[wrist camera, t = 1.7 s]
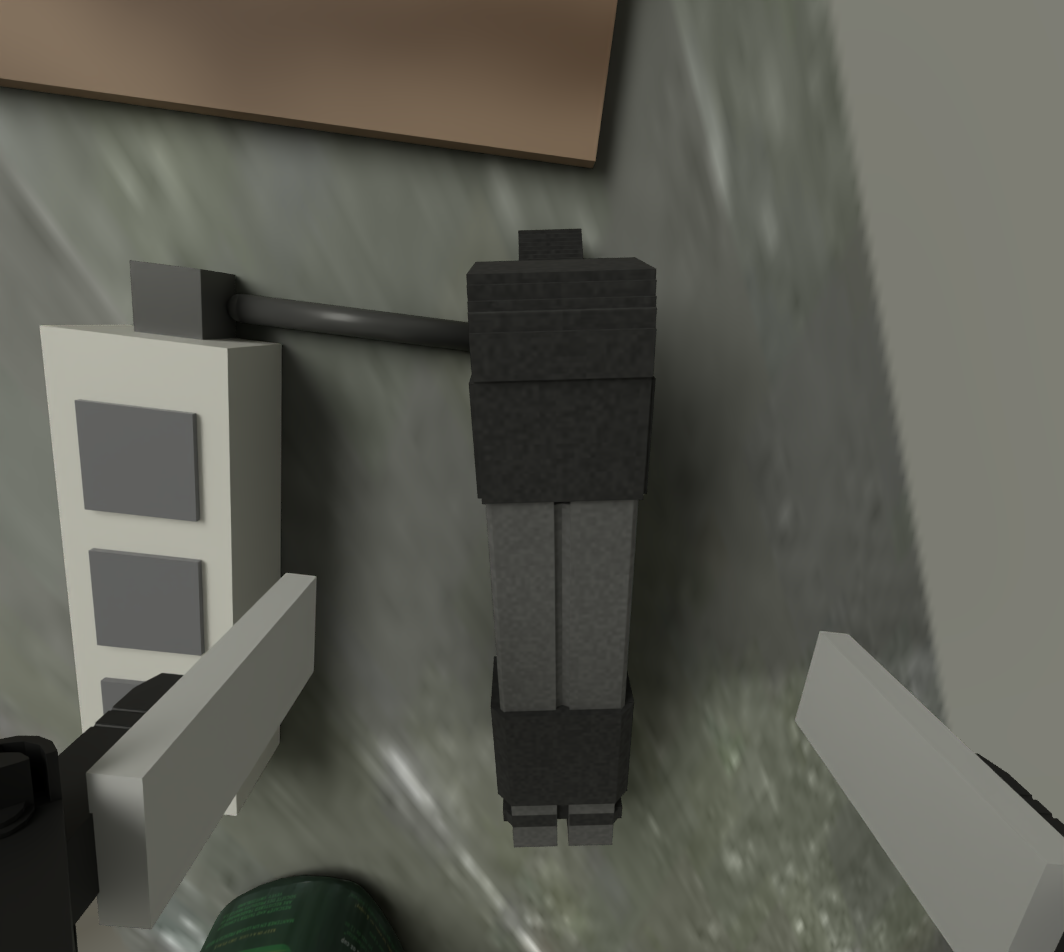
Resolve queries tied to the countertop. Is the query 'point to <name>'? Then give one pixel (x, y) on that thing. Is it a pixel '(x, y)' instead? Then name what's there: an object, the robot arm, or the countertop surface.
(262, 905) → the coffee jar
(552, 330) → the gun
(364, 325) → the power strip
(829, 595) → the countertop surface
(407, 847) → the countertop surface
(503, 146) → the walnut board
